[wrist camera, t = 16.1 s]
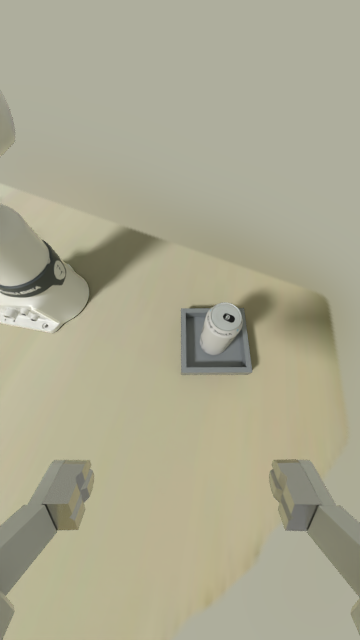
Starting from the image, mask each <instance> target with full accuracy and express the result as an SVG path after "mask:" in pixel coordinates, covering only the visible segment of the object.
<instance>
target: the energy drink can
mask: <svg viewBox="0 0 360 640" xmlns="http://www.w3.org/2000/svg"><path fill="white" fill-rule="evenodd" d="M242 325H243V320H242V315H241V312H240V310H239V309H238V308H237V307H236V306H235V305H233V304H231V303H220V304H217V305H215V306H213V307H212V308H211V309H210V310H209V311H208V312H207V315H206V318H205V322H204V325H203V329H202V333H201V336H200V346H201V348H202V349H203V350H204V351H205V352H206V353H207V354H210V355H219V354H221V353H222V352H224V351H225V349H226V348H227V347H228V346H229V344H230V343H231V342H232V341H233V339H234V338H235V337H236V336H237V334H238V333H239V332H240V330H241V328H242Z"/></svg>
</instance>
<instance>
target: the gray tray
mask: <svg viewBox="0 0 360 640" xmlns="http://www.w3.org/2000/svg"><path fill="white" fill-rule="evenodd" d="M210 309H211V308H190V309H181V374H182V375H248V374H250V373H252V366H251V358H250V351H249V343H248V335H247V328H246V320H245V312H244V308H238V309H239V310H240V312H241V315H242V320H243V325H242V328H241V330H240V332H239V333H238V334H237V336H236V337H235V338H234V339H233V341H232V342H231V343H230V344H229V346H228V347H227V348H226V349H225V351H224V352H222V353H221V354H219V355H210V354H207V353H206V352H205V351H204V350H203V349H202V348H201V346H200V336H201V333H202V329H203V325H204V322H205V318H206V315H207V312H208V311H209V310H210Z"/></svg>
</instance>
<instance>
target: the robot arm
mask: <svg viewBox="0 0 360 640" xmlns="http://www.w3.org/2000/svg"><path fill="white" fill-rule="evenodd" d="M14 142H15V128H14V122H13V118H12V115H11V112H10V109H9V107H8V104H7V102H6V100H5V98H4V96H3V94H2V92H1V90H0V157H1V156H2V155H3V154H4V153H5V152H6V151H7V150H8V149H9V148H10V147H11V145H13V144H14ZM88 298H89V287H88V284H87V282H86V281H85V280H84V279H83V278H82V277H81V276H80V275H78V274H77V273H76V272H75V271H74V270H73V268H72V267H71V266H70V265H69V264H66V263H65V262H64V261H63V260H61V259H60V258H59V256H58V255H57V254H56V252H55V251H54V250H53V249H52V247H51V246H50V245H48V244H47V243H46V242H45V241H44V240H42V239H40V237H39V236H38V235H37V234H36V233H35V232H34V231H33V229H32V228H31V227H30V226H29V225H28V224H27V222H26V221H25V220H24V219H23V218H22V217H21V215H20V214H19V213H17V212H16V211H15V210H13V209H11V208H10V207H8V206H5V205H3V204H0V323H1V324H6V325H11V326H17V327H22V328H27V329H32V330H38V331H43V332H48V333H54V332H56V331H57V330H58V329H59V328H60V327H61V326H62V325H63V324H64V323H65V322H67V321H69V320H70V319H72V318H74V317H75V316H76V315H78V314H79V313H80V312H81V311H82V310H83V308H84V307H85V305H86V303H87V301H88ZM47 326H48V327H47ZM46 327H47V328H46ZM90 467H91V462H90V460H54V461H53V462H52V463H51V464H50V466H49V468H48V469H47V471H46V473H45V475H44V477H43V478H42V480H41V482H40V484H39V485H38V487H37V489H36V491H35V492H34V494H33V496H32V498H31V499H30V501H29V503H28V505H23V506H22V507H21V508H20V509H19V510H17V511H16V512H15V513H14V514H13V515H12V516H11V517H10V518H9V519H7V520H6V521H5V522H4V523H3V524H2V525H1V526H0V640H2V639H3V637H4V635H5V632H6V630H7V628H8V626H9V623H10V621H11V619H12V616H13V614H14V605H13V604H12V603H11V602H10V601H9V600H8V598H7V597H6V595H7V593H8V592H9V591H10V590H11V589H12V587H13V586H14V585H15V584H16V582H17V581H18V580H19V579H20V577H21V576H22V575H23V574H24V572H25V571H26V570H27V569H28V567H29V566H30V565H31V564H32V562H33V561H34V560H35V559H36V558H37V556H38V555H39V554H40V553H41V551H42V550H43V549H44V548H45V546H46V545H47V544H48V543H49V541H50V540H51V539H52V538H53V536H54V535H55V534H56V533H57V530H78V529H79V526H80V523H81V520H82V518H83V515H84V512H85V505H84V502H85V501H86V500H87V499H88V498H89V497H90V494H91V491H92V488H93V483H94V473H93V471H92V470H91V469H90ZM272 467H273V469H272V470H271V471H270V474H269V482H270V487H271V491H272V494H273V497H274V498H275V499H276V500H277V501H278V502H279V507H278V511H279V514H280V517H281V520H282V522H283V525H284V528H285V530H287V531H307V533H308V535H309V536H310V537H311V538H312V539H313V541H314V542H315V543H316V544H317V545H318V547H319V548H320V549H321V551H322V552H323V553H324V554H325V556H326V557H327V558H328V559H329V560H330V562H331V563H332V564H333V565H334V566H335V568H336V569H337V570H338V572H339V573H340V574H341V575H342V576H343V578H344V579H345V580H346V581H347V583H348V584H349V585H350V586H351V588H352V589H353V590H354V591H355V592H356V594H357V595H358V596H359V600H358V601H357V602H356V603H355V605H354V606H353V607H352V609H351V616H352V618H353V621H354V623H355V625H356V627H357V630H358V632H359V634H360V523H359V522H358V521H357V520H356V519H355V518H354V517H353V516H351V515H350V514H349V513H348V512H347V511H346V510H345V509H344V508H343V507H341V506H340V505H336V504H335V502H334V500H333V498H332V497H331V495H330V493H329V492H328V490H327V488H326V486H325V484H324V483H323V481H322V479H321V477H320V476H319V474H318V472H317V471H316V469H315V467H314V465H313V464H312V462H311V461H310V460H296V459H292V460H273V462H272Z"/></svg>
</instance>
